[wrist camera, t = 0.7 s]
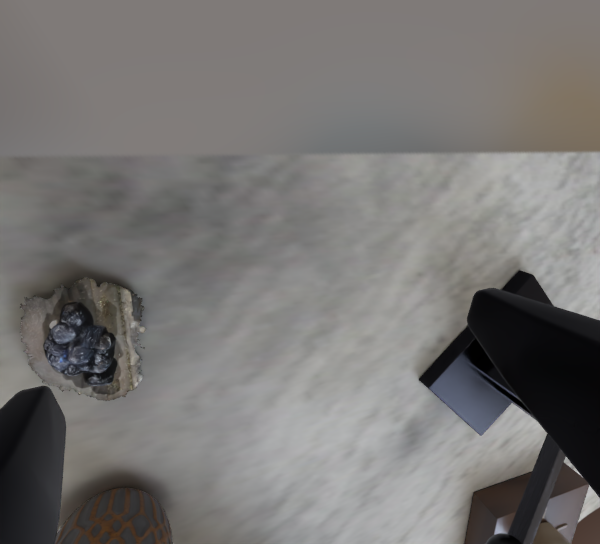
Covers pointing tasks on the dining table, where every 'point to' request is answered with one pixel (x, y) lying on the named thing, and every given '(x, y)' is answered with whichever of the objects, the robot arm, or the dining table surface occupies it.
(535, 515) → the black ball lever
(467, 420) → the lever bracket
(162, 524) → the vase
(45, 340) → the blueberries
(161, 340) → the dining table surface
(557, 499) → the dial panel
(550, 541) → the knob
